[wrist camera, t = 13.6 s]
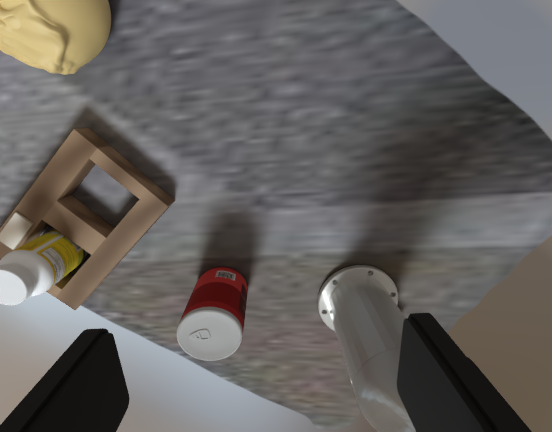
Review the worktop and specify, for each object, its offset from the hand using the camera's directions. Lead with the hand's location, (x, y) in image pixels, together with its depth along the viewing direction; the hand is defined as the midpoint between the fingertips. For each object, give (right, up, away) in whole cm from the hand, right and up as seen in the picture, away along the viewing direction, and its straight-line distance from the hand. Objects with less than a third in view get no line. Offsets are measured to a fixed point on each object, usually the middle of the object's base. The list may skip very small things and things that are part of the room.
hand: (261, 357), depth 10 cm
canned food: (-8, -6, +37) cm, 38 cm away
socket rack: (-26, +4, +32) cm, 42 cm away
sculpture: (-23, +27, +25) cm, 44 cm away
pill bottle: (-30, 0, +34) cm, 45 cm away
